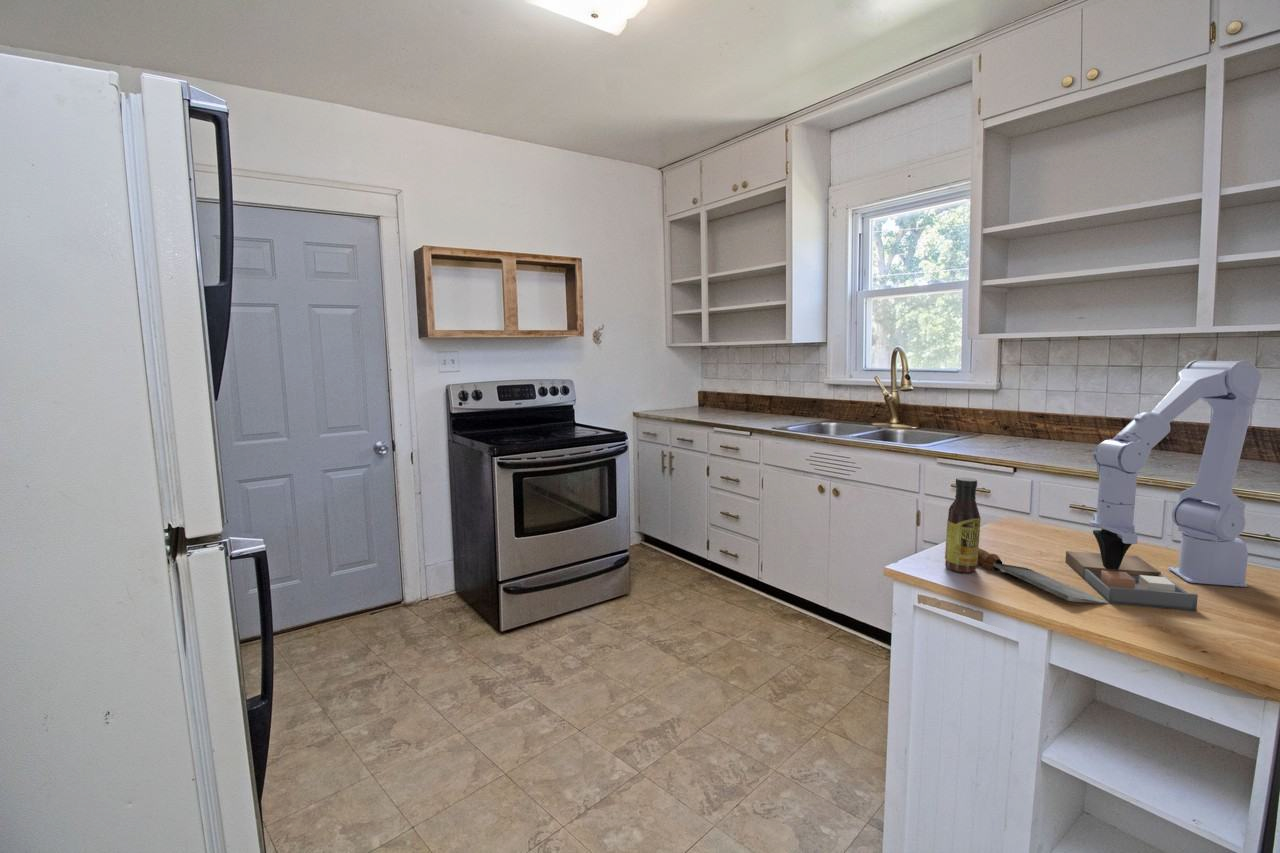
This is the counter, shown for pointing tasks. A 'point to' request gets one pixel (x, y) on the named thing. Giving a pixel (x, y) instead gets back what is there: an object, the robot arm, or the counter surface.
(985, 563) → the meat cleaver
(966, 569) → the sauce bottle
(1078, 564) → the walnut board
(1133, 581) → the peach matte cube
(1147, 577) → the pale grey cube
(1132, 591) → the charcoal tray
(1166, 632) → the counter surface
